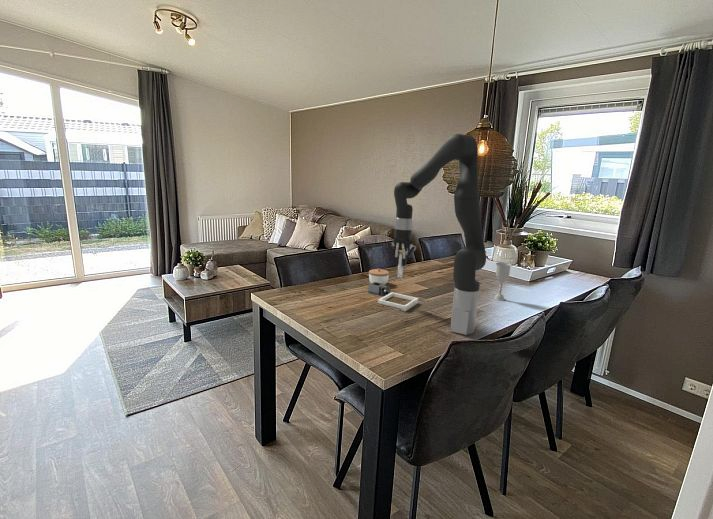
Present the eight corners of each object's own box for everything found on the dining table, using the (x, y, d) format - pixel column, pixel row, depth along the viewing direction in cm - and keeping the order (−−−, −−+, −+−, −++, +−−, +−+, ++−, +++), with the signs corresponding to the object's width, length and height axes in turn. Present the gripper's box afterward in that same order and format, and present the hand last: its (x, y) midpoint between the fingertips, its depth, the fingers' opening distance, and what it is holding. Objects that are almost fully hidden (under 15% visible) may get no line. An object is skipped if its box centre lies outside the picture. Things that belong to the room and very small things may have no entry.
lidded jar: (366, 287, 200) (367, 270, 198) (370, 281, 210) (371, 265, 208) (386, 289, 198) (387, 272, 196) (389, 283, 208) (390, 267, 206)
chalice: (506, 297, 191) (511, 263, 187) (507, 302, 185) (512, 266, 181) (491, 296, 193) (495, 261, 189) (491, 300, 187) (496, 265, 183)
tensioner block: (386, 299, 182) (386, 289, 181) (364, 294, 188) (365, 284, 187) (394, 294, 190) (395, 285, 189) (373, 289, 196) (374, 280, 195)
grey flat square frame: (405, 311, 167) (405, 306, 167) (377, 305, 174) (377, 299, 174) (417, 303, 179) (418, 298, 178) (391, 297, 186) (391, 292, 185)
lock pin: (401, 278, 171) (403, 250, 168) (395, 277, 173) (396, 249, 170) (404, 277, 174) (406, 249, 171) (398, 275, 176) (400, 248, 172)
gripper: (385, 227, 168) (383, 264, 173) (414, 230, 161) (411, 269, 165) (393, 225, 175) (390, 261, 179) (421, 228, 168) (418, 266, 172)
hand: (400, 265), depth 172 cm, fingers closed on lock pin, 2 cm apart
